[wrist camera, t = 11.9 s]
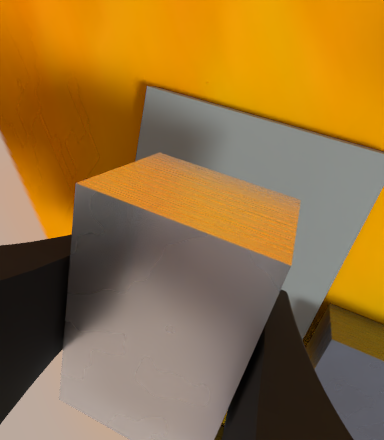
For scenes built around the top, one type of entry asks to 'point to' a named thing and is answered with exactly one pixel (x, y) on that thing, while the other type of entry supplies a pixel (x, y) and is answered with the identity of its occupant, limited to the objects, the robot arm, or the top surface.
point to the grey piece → (351, 369)
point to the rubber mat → (276, 179)
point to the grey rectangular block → (169, 294)
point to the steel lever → (219, 434)
